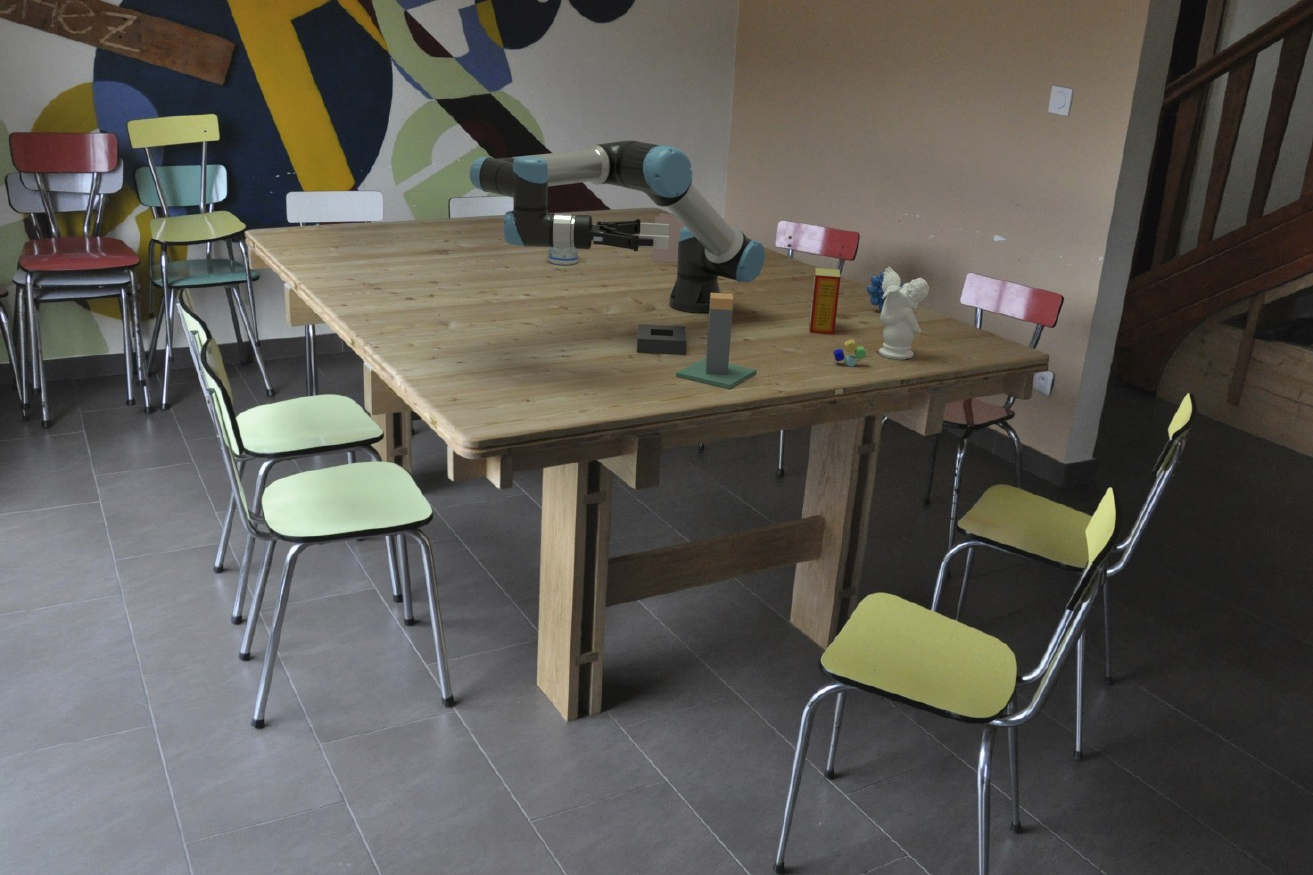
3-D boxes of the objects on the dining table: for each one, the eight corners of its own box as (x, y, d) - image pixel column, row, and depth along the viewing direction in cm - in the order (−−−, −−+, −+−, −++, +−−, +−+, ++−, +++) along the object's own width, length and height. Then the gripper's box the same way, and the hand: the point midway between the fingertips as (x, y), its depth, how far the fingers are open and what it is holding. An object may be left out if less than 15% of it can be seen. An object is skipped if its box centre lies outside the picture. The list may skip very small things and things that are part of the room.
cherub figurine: (923, 357, 282) (937, 272, 274) (898, 367, 274) (911, 279, 265) (882, 345, 290) (894, 262, 281) (856, 354, 281) (868, 269, 273)
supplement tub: (543, 263, 359) (543, 217, 354) (557, 257, 368) (558, 213, 362) (569, 267, 356) (570, 221, 350) (583, 261, 364) (584, 216, 358)
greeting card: (688, 262, 371) (691, 217, 365) (677, 266, 365) (680, 220, 359) (659, 257, 376) (661, 212, 371) (647, 260, 370) (649, 215, 365)
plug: (705, 367, 262) (710, 292, 256) (726, 368, 262) (732, 293, 256) (706, 373, 258) (711, 298, 251) (727, 374, 258) (733, 299, 251)
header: (638, 337, 286) (638, 324, 285) (684, 339, 286) (685, 326, 285) (636, 352, 274) (637, 338, 273) (685, 354, 274) (686, 341, 273)
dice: (833, 365, 272) (835, 340, 269) (831, 362, 274) (834, 337, 272) (865, 367, 272) (868, 342, 269) (864, 364, 274) (867, 339, 272)
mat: (704, 362, 269) (704, 358, 269) (756, 373, 263) (756, 369, 262) (675, 376, 258) (676, 372, 257) (729, 389, 251) (729, 384, 251)
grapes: (866, 315, 318) (871, 273, 314) (862, 308, 324) (867, 268, 320) (907, 317, 318) (912, 275, 314) (902, 310, 324) (908, 270, 320)
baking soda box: (809, 323, 307) (815, 266, 301) (833, 325, 306) (839, 268, 300) (809, 332, 298) (815, 274, 292) (834, 334, 298) (840, 275, 292)
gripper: (577, 237, 261) (667, 241, 262) (568, 260, 238) (667, 265, 238) (578, 205, 259) (669, 209, 259) (569, 225, 235) (669, 230, 236)
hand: (668, 236), depth 249 cm, fingers open, 13 cm apart
